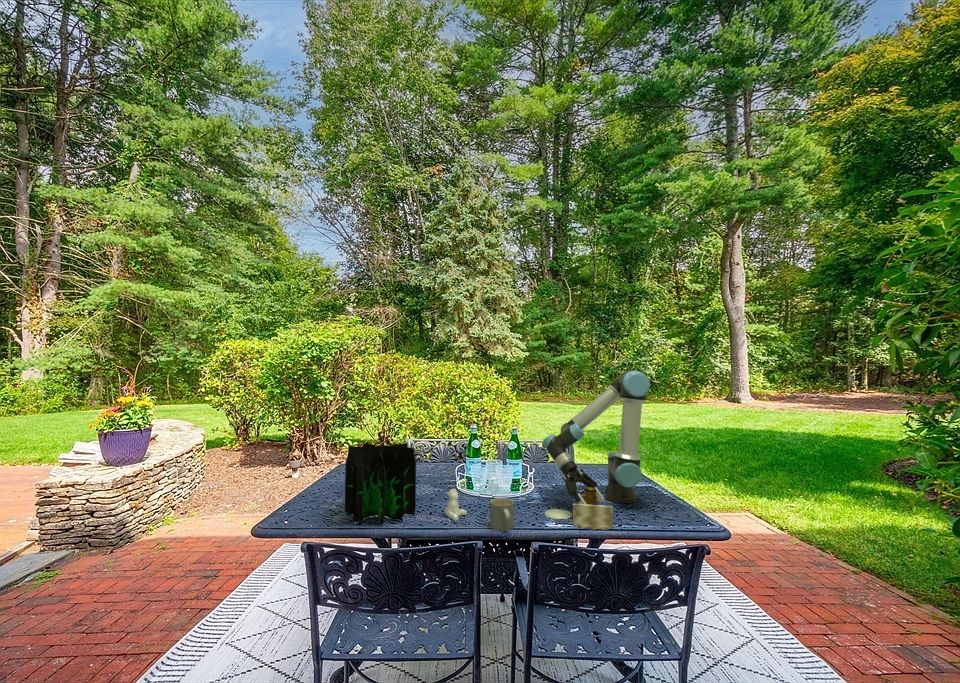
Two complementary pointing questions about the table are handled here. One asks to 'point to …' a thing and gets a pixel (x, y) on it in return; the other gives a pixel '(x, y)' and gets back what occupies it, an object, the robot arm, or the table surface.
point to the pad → (558, 514)
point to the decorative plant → (380, 481)
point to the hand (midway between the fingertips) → (594, 504)
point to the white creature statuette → (454, 506)
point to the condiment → (590, 496)
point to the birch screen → (593, 516)
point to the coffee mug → (501, 514)
